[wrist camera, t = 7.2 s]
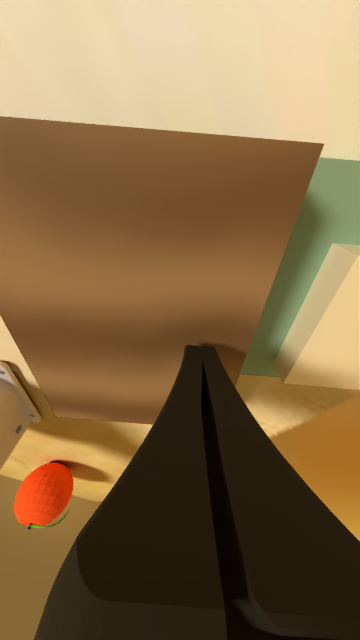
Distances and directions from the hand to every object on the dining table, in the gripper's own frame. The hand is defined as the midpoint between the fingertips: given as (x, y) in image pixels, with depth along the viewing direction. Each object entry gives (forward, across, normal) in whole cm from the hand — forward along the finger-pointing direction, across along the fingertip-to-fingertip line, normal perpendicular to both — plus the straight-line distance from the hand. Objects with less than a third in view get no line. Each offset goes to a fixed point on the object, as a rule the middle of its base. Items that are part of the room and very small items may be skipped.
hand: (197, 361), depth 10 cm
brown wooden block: (+5, +4, 0) cm, 6 cm away
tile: (+2, -10, 0) cm, 10 cm away
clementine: (+5, +17, +31) cm, 36 cm away
